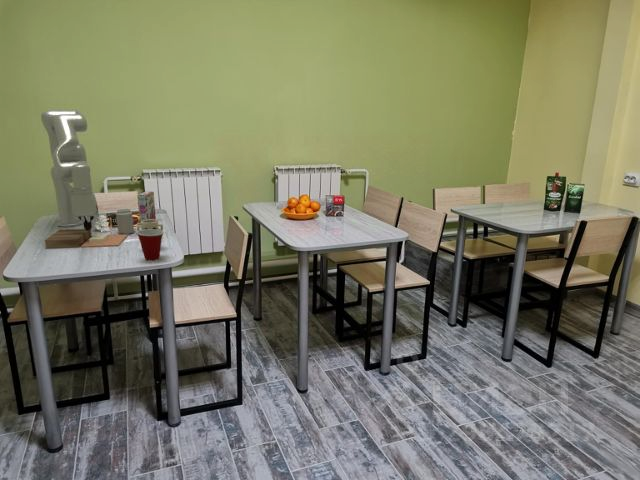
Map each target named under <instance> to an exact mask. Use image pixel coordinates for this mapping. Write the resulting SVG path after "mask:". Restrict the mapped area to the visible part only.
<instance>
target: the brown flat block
mask: <svg viewBox="0 0 640 480" xmlns="http://www.w3.org/2000/svg"><path fill="white" fill-rule="evenodd" d="M91 237H93V235H92V228H91V229H90V230H89V231H88V230H87V231H85V228H76V229H75V228H74V229H73V228H70V229H66V228H65V229H58V230H57V231H56V232H54V233H53V234H52V235H50V236H49V237H47V238H45V239H44V244H45V249H69V248H70V249H71V248H72V249H73V248H75V249H76V248H78V249H79V248H81V246H82V245H83V244H84V243H86V242H87V241H88V240H89V239H90V238H91Z"/></svg>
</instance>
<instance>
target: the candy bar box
mask: <svg viewBox="0 0 640 480" xmlns="http://www.w3.org/2000/svg"><path fill="white" fill-rule="evenodd" d="M155 202H156V201H155V192H154V191H144V192H141V193H139V194H137V205H138V215H139V216H138V217H139V225H141V221H143V220H147V219H156V220H157V218H156V217H157V216H156V207H155V205H156V204H155Z"/></svg>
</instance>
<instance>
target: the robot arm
mask: <svg viewBox="0 0 640 480" xmlns="http://www.w3.org/2000/svg"><path fill="white" fill-rule="evenodd" d="M40 114H41V115H40V118H41V119H40V120H41V123H42V125H43V127H44V129H45V131H46V133H47V135H48V141H49V142H48V143H49V148H50V154H51V159H52V162H53V166H52V167H51V169H50V176H51V180H52V183H53V187H54V190H55V191H54V192H55V197H56V204H57V211H58V217H59V221H58V222H56V226H57V227H66V228H67V227H77V226H81V225H82V224H83V229H85V231H87V230H88V231H89V230H90V229H91V230H92V228H93V226H92V221H93V220H94V219H97V218H99V217H100V215H99V205H98V201H97V198H96V195H95V193H93V185H92V179H91V178H92V177H91V167H90V164H89V163H88V161H87V152H86V149H85V147H84V145H83V144H82V143H80V141H79V138H78V134H77V133H79V132H80V133H82V132H83V133H84V132H86V131H87V129H88V121H87V119H86V117H85V115H84V114H83V113H82V112H80V111H79V110H77V109H48V110H44V111H42V112H41V113H40ZM70 184H72V185H73V186H71V185H70Z"/></svg>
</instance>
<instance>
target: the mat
mask: <svg viewBox="0 0 640 480" xmlns="http://www.w3.org/2000/svg"><path fill="white" fill-rule="evenodd" d="M127 237H129V234H127V235H122V234H109V238H108V239H107V240H106V241H105V242H104V243H89V239H88V240H87V241H86V242H85V243H84V244H83V245H81V246H80V248H102V247H103V248H105V247H110V248H111V247H119V246H120V245H122V243H123V242H124V241H125V240H126V238H127Z"/></svg>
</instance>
